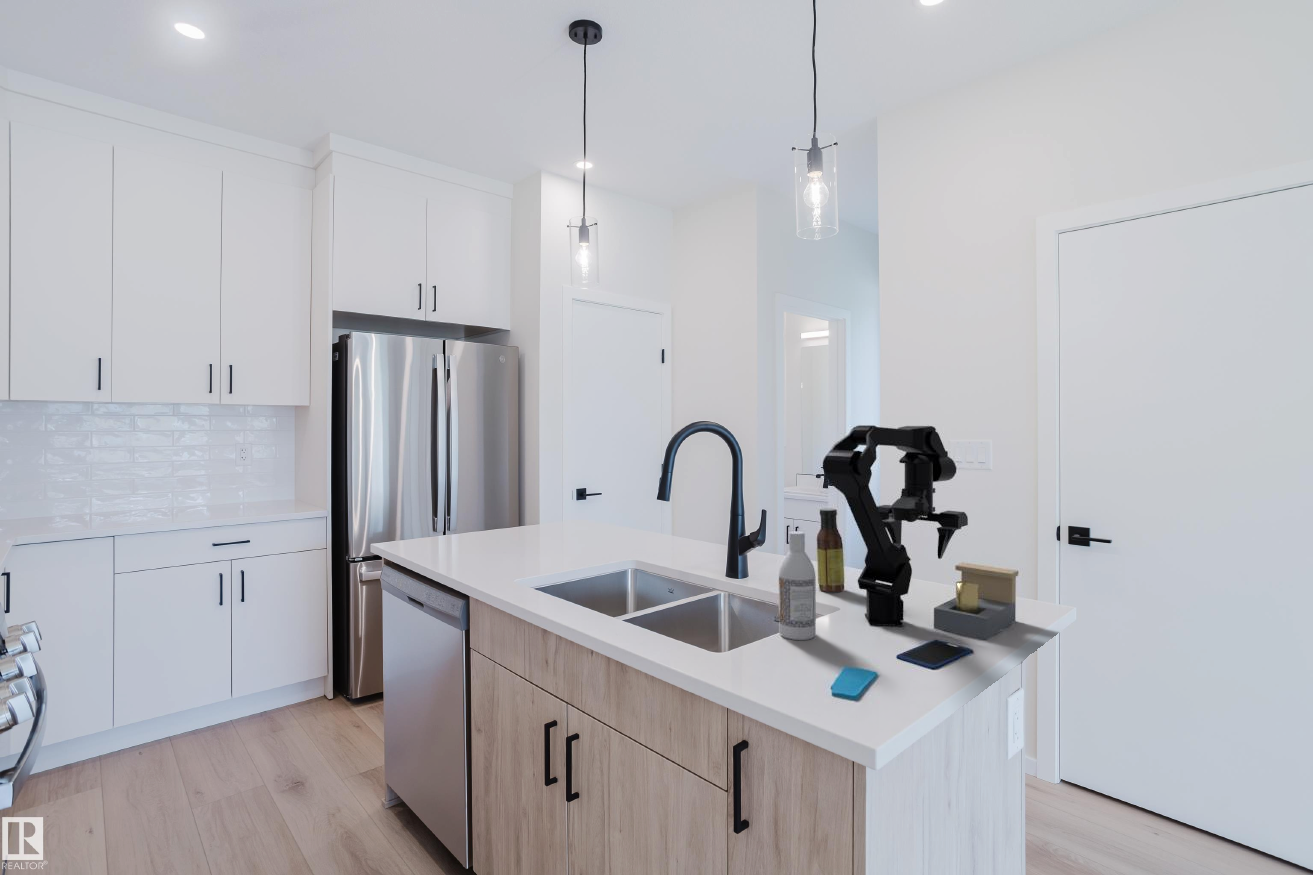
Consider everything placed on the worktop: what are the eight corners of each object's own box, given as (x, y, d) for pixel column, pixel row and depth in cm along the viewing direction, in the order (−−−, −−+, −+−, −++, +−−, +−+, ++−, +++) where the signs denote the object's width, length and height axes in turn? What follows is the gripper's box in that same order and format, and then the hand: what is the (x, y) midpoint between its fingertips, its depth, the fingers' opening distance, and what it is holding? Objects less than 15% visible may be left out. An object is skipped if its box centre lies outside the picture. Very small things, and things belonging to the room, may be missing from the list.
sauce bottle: (847, 589, 160) (847, 508, 159) (839, 594, 155) (839, 511, 154) (822, 585, 164) (821, 506, 163) (813, 590, 158) (812, 509, 158)
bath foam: (783, 627, 131) (783, 528, 130) (818, 631, 128) (818, 530, 127) (775, 638, 124) (774, 534, 124) (811, 643, 122) (811, 536, 121)
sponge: (817, 689, 100) (855, 693, 96) (843, 665, 110) (878, 668, 106) (819, 699, 100) (857, 704, 96) (844, 674, 109) (879, 677, 106)
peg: (960, 626, 127) (959, 585, 127) (953, 620, 131) (953, 580, 131) (981, 626, 127) (981, 585, 127) (974, 620, 131) (974, 581, 131)
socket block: (989, 640, 122) (990, 584, 122) (931, 627, 130) (931, 575, 130) (1018, 621, 133) (1018, 570, 133) (962, 610, 141) (962, 562, 141)
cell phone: (975, 653, 116) (975, 649, 116) (934, 672, 108) (934, 668, 108) (936, 642, 122) (936, 638, 122) (894, 659, 114) (894, 655, 114)
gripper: (860, 483, 142) (860, 554, 142) (947, 489, 129) (947, 568, 129) (884, 480, 150) (884, 547, 150) (968, 485, 136) (968, 559, 137)
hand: (918, 555), depth 141 cm, fingers open, 9 cm apart
